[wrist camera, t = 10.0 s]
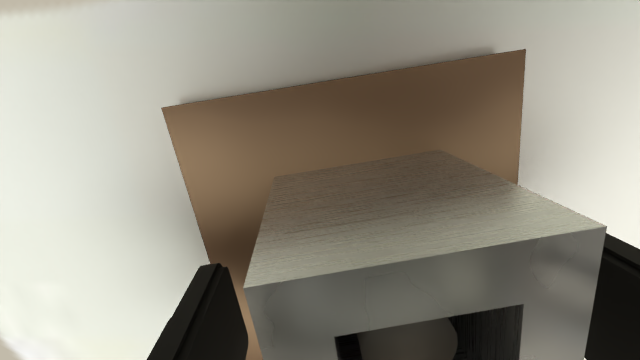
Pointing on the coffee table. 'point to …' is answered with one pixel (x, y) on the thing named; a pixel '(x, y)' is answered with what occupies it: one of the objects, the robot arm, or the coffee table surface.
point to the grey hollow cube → (420, 261)
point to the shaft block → (343, 156)
